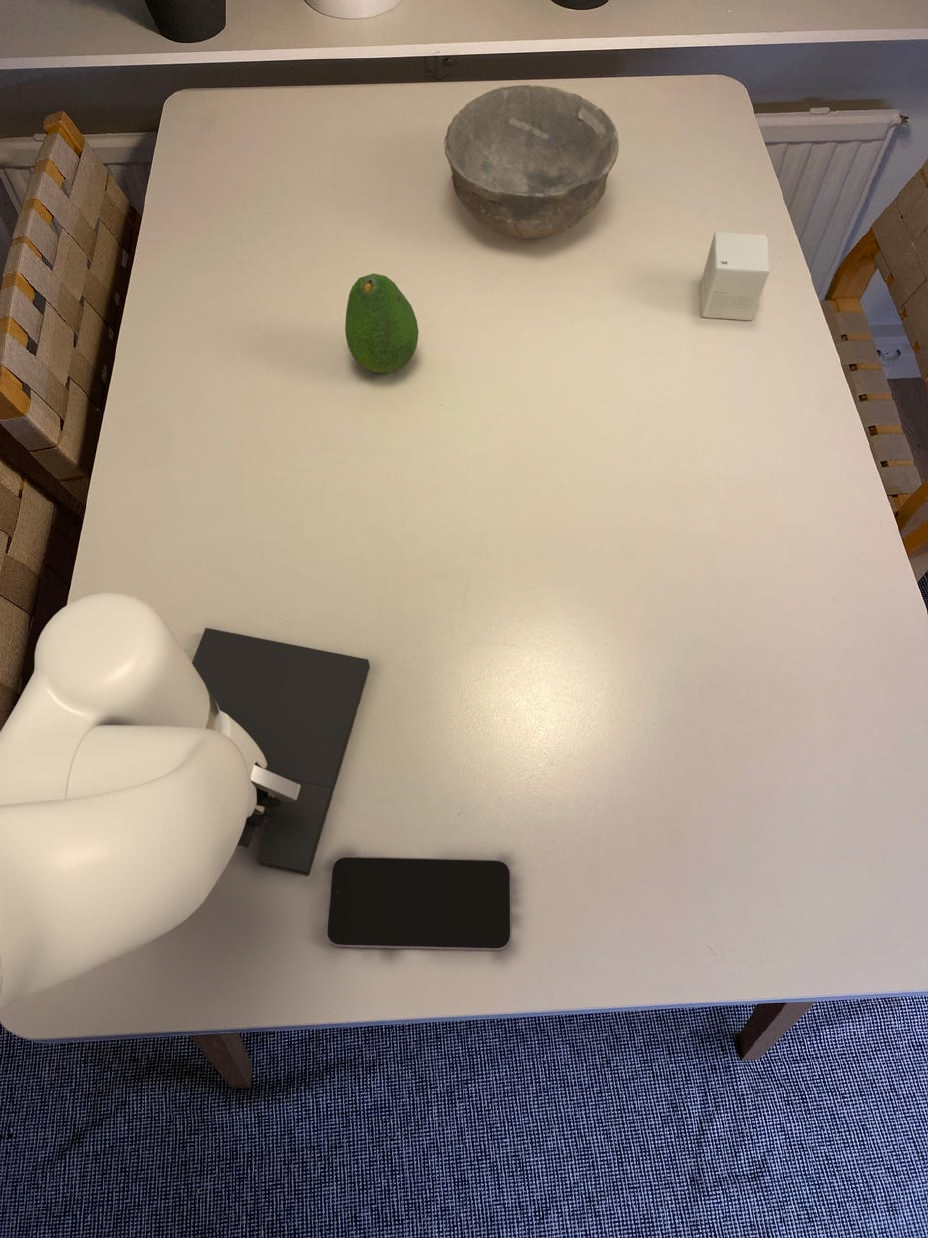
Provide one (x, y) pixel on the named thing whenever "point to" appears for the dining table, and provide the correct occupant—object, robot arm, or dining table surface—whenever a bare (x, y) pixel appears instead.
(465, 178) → the bowl
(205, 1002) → the dining table surface
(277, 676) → the mat
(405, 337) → the fruit
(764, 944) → the dining table surface
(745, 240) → the product box
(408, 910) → the smartphone
